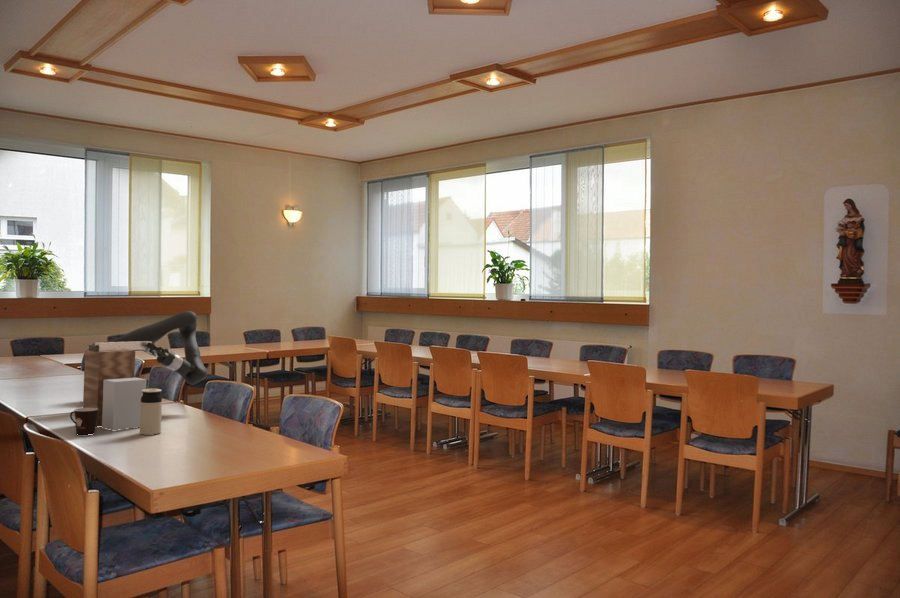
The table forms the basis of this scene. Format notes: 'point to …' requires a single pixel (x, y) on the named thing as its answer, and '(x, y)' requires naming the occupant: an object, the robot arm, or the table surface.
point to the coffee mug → (85, 420)
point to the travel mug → (150, 411)
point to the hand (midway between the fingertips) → (142, 343)
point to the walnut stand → (104, 374)
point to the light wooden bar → (122, 345)
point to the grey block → (122, 402)
